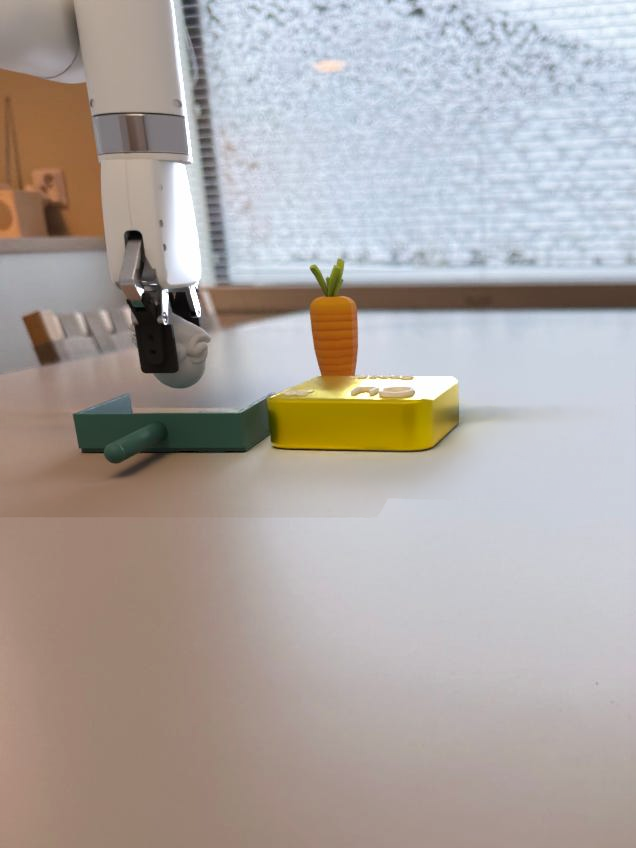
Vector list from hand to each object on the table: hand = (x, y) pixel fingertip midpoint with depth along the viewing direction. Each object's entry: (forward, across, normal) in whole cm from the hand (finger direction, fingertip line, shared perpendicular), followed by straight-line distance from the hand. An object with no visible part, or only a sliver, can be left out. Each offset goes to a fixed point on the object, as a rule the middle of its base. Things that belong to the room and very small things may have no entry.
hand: (174, 365), depth 86 cm
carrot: (+7, -18, +11) cm, 22 cm away
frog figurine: (+2, 0, 0) cm, 2 cm away
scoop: (+7, +5, 0) cm, 8 cm away
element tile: (+7, -2, +17) cm, 18 cm away
